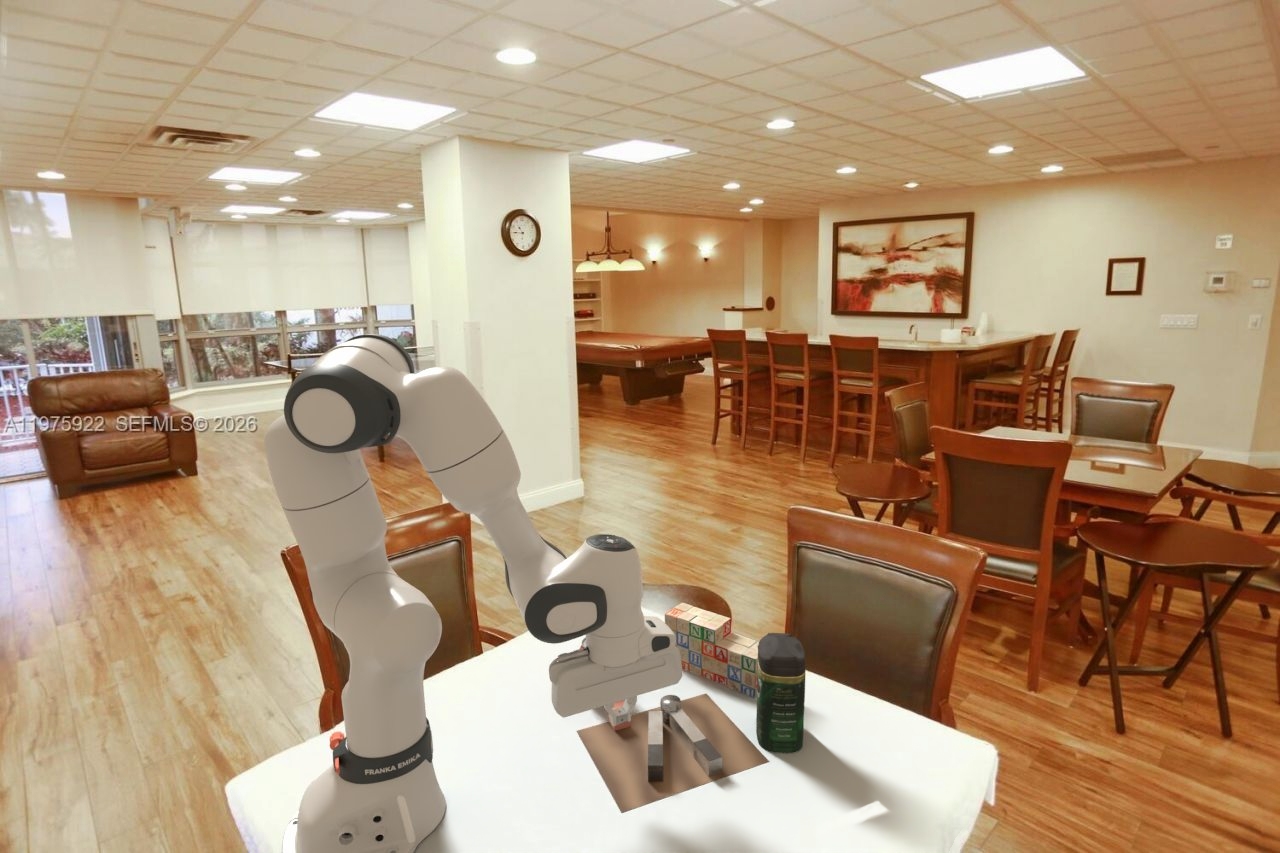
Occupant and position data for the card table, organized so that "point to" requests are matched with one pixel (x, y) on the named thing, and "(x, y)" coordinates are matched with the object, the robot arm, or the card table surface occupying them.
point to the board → (665, 754)
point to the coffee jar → (780, 693)
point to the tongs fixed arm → (696, 743)
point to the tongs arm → (659, 736)
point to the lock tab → (623, 725)
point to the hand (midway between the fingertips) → (620, 721)
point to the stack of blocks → (714, 648)
